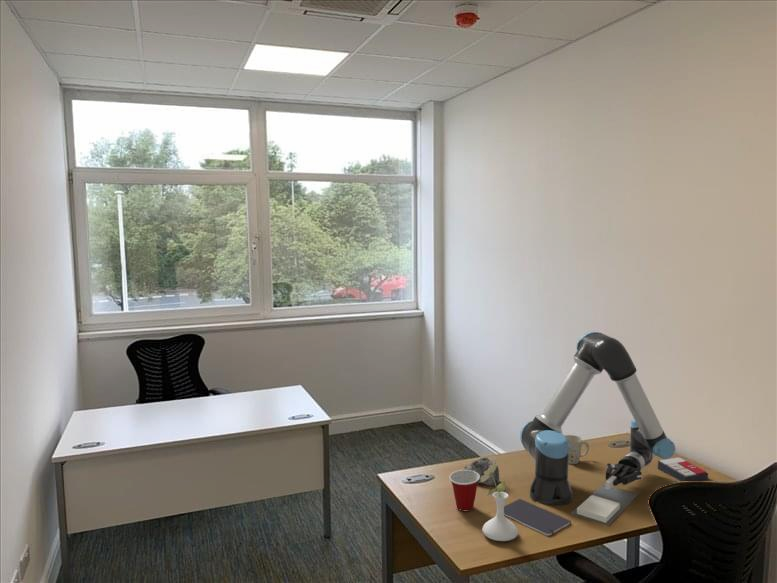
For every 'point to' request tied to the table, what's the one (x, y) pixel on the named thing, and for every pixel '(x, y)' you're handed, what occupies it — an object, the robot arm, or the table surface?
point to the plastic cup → (464, 488)
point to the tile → (598, 508)
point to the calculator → (682, 470)
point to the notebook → (535, 517)
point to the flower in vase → (498, 513)
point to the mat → (612, 495)
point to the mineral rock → (483, 466)
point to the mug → (575, 448)
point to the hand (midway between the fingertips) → (607, 485)
